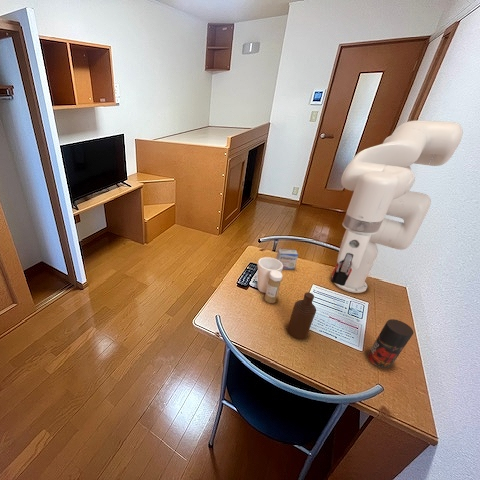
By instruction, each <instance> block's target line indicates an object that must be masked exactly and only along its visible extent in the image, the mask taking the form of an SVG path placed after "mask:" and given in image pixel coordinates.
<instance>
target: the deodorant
mask: <svg viewBox="0 0 480 480" xmlns="http://www.w3.org/2000/svg"><path fill="white" fill-rule="evenodd" d="M413 335H414V330H413V328H412V327H411V326H410V325H408V324H407V323H406V322H403V321H401V320H400V319H399V320H398V319H394V318H393V319H388V320H386V321H385V324H384V326H383V327H382V329H381V331H380V333H379V334H378V336H377V338H376V340H375V341H374V343H373V344H372V346H371V347H370V349H369V351H368V353H367V359H368V361H370V363H371V364H372V365H373V366H375V367H378V368H380V369H383V370H388V369H390V368H391V367H392V366H393V364H394V363H395V361H396V360H397V358H399V355H401V353H402V351H403V350H404V348H405V347H406V345H407V344H408V342H409V341H410V340H411V338H412V337H413Z"/></svg>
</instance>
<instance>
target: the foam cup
mask: <svg viewBox="0 0 480 480" xmlns="http://www.w3.org/2000/svg"><path fill="white" fill-rule="evenodd" d="M256 266H257V282H256V283H257V290H258V291H259V292H261V293H264V294H266V289H267V285H268V281H269V274H270V272H271V271H279V272H281V273H282V272H283V270H284V269H283V264H282V263H281V262H280V261H279V260H277V259H276V257H275V258H274V257H269V256H264V257H261V258H259V259H258V261H257V265H256Z"/></svg>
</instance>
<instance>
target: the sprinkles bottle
mask: <svg viewBox="0 0 480 480" xmlns="http://www.w3.org/2000/svg"><path fill="white" fill-rule="evenodd" d="M282 279H283V273H282V272H279V271H271V272H270V274H269V281H268V285H267V289H266V293H264V298H263V299H264V301H266V302H267V303H270V304H275V303H276V302H277V297H278V294H279V290H280V286H281V282H282Z"/></svg>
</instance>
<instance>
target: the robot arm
mask: <svg viewBox="0 0 480 480" xmlns="http://www.w3.org/2000/svg"><path fill="white" fill-rule="evenodd" d="M463 134H464V130H463V126H462V125H461V124H460V123H458V122H455V121H442V120H419V119H418V120H409V121H406V122H404V123H401V124H399V126H397V127H396V128H395V129H394V131H393V132H392V134H391V135H389V136H387V137H386V138H385V139H384V140H383V141H382V143H381V144H377V145H374V146H370V147H368V148H365V149H363V150H360V151H359V152H358V153H356V155H354V157H353V158H352V159H351V161H350V162H348V164H347V166H346V167H345V168H344V170H343V172H342V174H341V178H340V183H341V186H342V187H343V188H344V189H345V190H347V191H350V192H353V193H352V195H351V199H350V201H349V203H348V207H347V209H346V212H345V215H344V217H343V221H342V223H341V225H342V227H343V228H344V229H345V231H344V234H343V237H342V240H341V243H340V245H339V250H338V254H337V259H336V265H337V264H339V265H338V268H337V270H335V272H334V275H333V276H332V275H331V276H332V277H331V283H333V284H334V285H335V286H336V287H337V288H339V289H341V290H342V291H345V292H348V293H353V294H362V293H364V292H366V291H367V289H368V284H367V282H366V280H367V278H368V277H370V276H371V269H372V268H373V265H374V263H375V261H376V259H377V257H378V254H379V248H378V245H381V246H385V247H388V248H392V249H396V250H400V251H401V250H407V249H408V248H409V247H410V246H411V245H412V243H413V241H414V239H415V237H416V235H417V233H418V232H419V230H420V227H421V226H422V223H423V222H424V219H425V217H426V216H427V214H428V212H429V210H430V207H431V204H432V203H431V201H432V200H431V197H430V195H428V194H427V193H423V192H418V191H414V190H411V189H412V187H413V185H414V184H415V181H416V177H415V173H414V172H413V170H412V168H411V165H413V164H414V165H423V166H431V167H440V166H443V165H445V164H446V163H447V162H449V161H450V160H451V158H452V157H453V155H454V154H455V152H456V150H457V149H458V147H459V146H460V143H461V141H462V138H463ZM386 216H391V217H394V218H399V219H401V220H403V222H402V221H397V220H393V219H389V218H386ZM341 265H343V266H342V267H340V266H341ZM350 269H352V271H351V273H350V275H349V271H350ZM348 276H349V277H348ZM347 278H348V279H347Z"/></svg>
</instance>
